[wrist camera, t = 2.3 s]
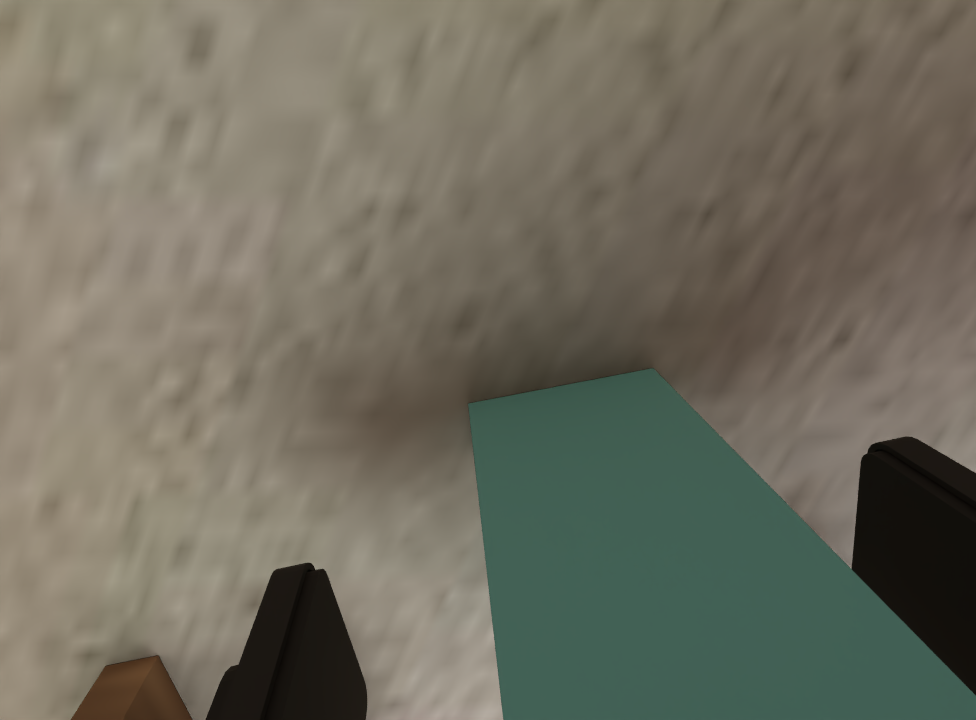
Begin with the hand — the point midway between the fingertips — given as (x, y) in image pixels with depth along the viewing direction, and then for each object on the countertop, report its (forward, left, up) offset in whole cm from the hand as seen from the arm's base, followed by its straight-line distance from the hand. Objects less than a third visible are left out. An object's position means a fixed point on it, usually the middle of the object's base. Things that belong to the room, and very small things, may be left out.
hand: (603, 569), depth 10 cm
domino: (-1, 0, -6) cm, 6 cm away
